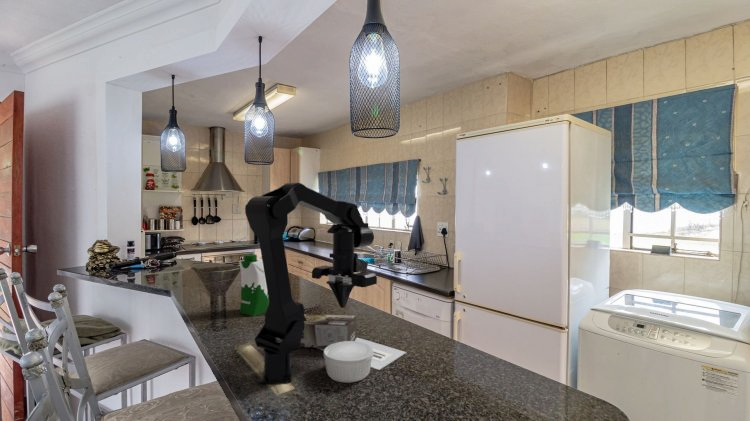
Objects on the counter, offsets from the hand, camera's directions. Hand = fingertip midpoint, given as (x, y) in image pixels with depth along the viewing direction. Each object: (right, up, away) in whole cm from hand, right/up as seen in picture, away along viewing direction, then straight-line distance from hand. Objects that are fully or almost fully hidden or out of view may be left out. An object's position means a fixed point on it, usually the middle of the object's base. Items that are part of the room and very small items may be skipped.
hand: (342, 307), depth 95 cm
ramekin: (+3, -11, -16) cm, 19 cm away
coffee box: (-13, -7, +2) cm, 15 cm away
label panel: (+4, -10, -3) cm, 11 cm away
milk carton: (-33, -9, +28) cm, 44 cm away
